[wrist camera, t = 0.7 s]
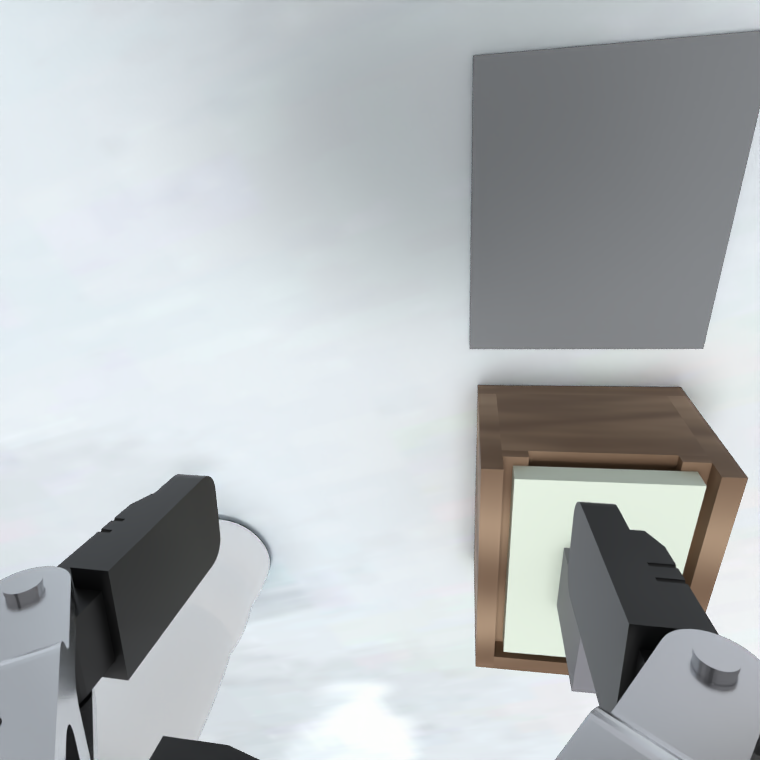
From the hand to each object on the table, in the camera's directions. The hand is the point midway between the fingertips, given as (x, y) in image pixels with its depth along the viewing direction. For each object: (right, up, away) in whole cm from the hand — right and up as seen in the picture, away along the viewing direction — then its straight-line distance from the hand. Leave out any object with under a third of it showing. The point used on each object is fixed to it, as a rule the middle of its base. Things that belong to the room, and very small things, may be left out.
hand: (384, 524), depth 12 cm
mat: (+10, +11, +14) cm, 21 cm away
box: (+12, -3, +22) cm, 25 cm away
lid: (+11, -6, +15) cm, 20 cm away
